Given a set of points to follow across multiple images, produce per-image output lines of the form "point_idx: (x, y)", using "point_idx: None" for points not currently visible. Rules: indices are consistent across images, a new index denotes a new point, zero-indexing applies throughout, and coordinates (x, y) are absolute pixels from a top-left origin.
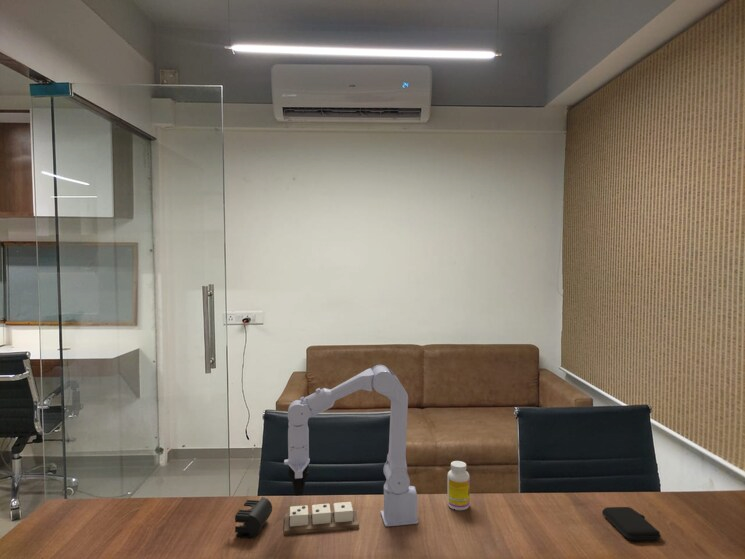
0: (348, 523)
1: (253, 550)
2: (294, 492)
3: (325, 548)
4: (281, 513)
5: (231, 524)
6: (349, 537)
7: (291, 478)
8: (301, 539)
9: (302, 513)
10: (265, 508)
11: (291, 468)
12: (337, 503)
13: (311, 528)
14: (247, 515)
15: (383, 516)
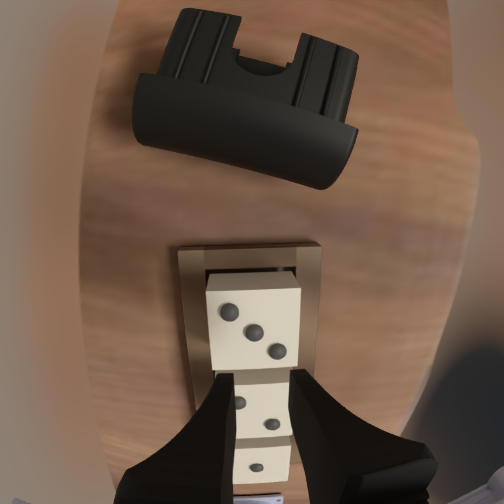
0: None
1: (97, 136)
2: (213, 382)
3: (105, 378)
4: (356, 224)
5: (297, 25)
6: (163, 437)
7: (144, 464)
8: (150, 312)
9: (223, 347)
10: (256, 155)
11: (341, 480)
12: (285, 454)
13: (188, 355)
14: (166, 65)
15: (251, 499)
